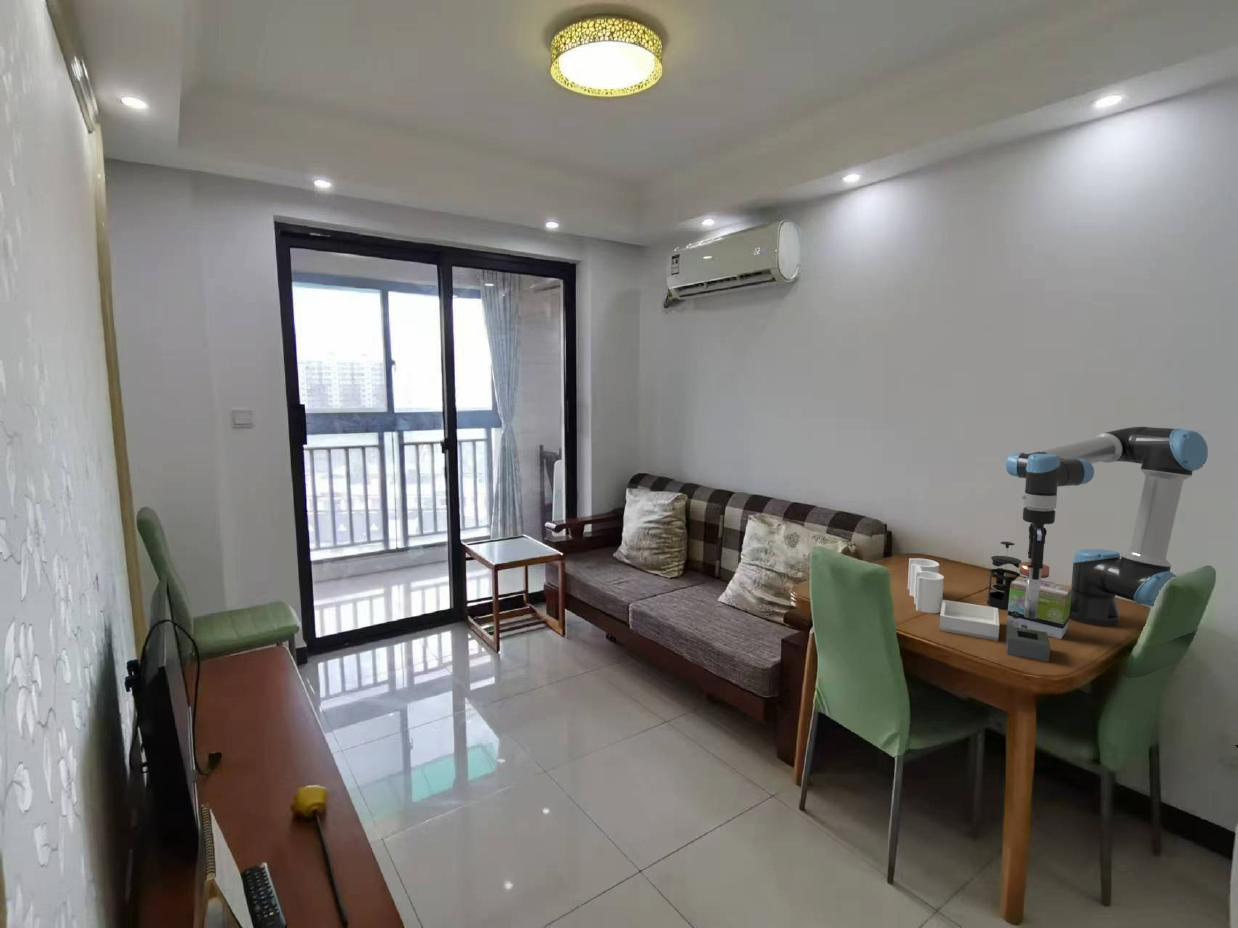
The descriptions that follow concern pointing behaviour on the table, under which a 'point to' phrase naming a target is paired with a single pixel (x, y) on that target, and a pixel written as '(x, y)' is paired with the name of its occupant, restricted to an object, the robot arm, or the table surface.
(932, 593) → the bracket
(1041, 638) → the block
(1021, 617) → the tea box
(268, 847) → the table surface
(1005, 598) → the french press
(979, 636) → the tray
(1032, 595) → the copper slotted screw
